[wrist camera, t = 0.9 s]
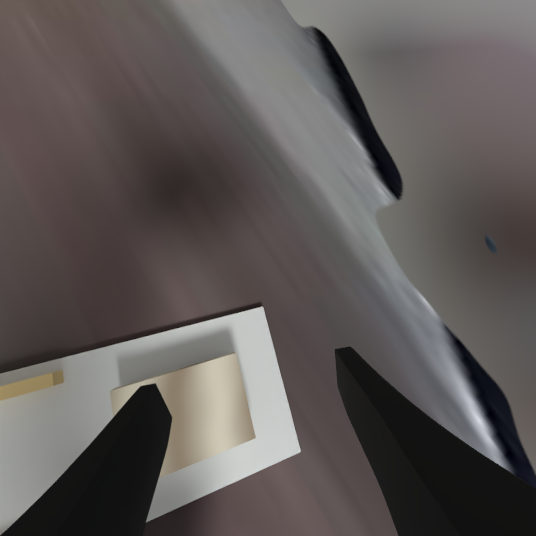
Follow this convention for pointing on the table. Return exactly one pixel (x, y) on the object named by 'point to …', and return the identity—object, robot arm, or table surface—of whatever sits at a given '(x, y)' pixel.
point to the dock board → (100, 412)
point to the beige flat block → (199, 410)
